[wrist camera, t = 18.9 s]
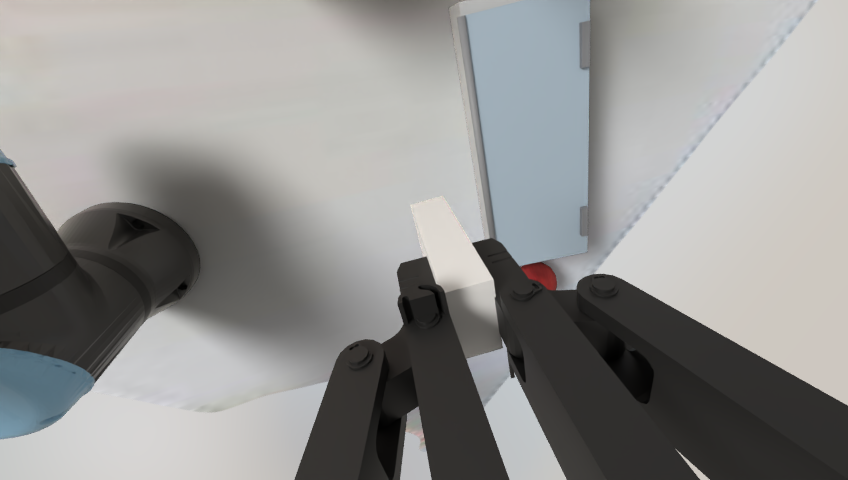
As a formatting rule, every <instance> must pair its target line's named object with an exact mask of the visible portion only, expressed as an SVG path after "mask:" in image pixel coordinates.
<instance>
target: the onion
mask: <svg viewBox="0 0 848 480" xmlns="http://www.w3.org/2000/svg"><path fill="white" fill-rule="evenodd" d="M521 269H522V270H523V272H524V273H525V274H526V275H527V277H528V278H529V279H532V280H535V281H538V282H540V283H541V284H543V285H544V286H545V287H546V288H547V289H548V290H556V287H557V281H556V275H555V273H554V272H553V270H552V269H551V268H550V267H549V266H547V265H546V264H544V263H542V262H536V263H532V264H527V265H523V266H522V267H521Z"/></svg>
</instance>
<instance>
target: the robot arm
mask: <svg viewBox="0 0 848 480" xmlns="http://www.w3.org/2000/svg"><path fill="white" fill-rule="evenodd" d="M15 167H17V166H16V164H15V163H14V162H13V161H12V160H11V159H8V158H7V157H6V156H5V155H4V153H3V152H2V151H1V149H0V439H6V438H14V437H19V436H24V435H28V434H31V433H34V432H37V431H40V430H42V429H44V428H46V427H48V426H50V425H52V424H54V423H55V422H56V421H58V420H59V419H60V418H62V417H63V416H64V415H65V414H66V413H67V411H69V409H70V408H71V407H72V406H73V405H74V404H75V403H76V402H77V401H78V400H79V399H80V398H81V397H82V396H83V395H85V394H86V393H88V392H89V391H90V390H91V389H92V387H93V386H94V383H95V382H96V381H97V380H98V379H99V377H100V376H101V375H102V374H103V372H104V371H105V370H106V369H107V367H108V366H109V365H110V364H111V362H112V361H113V360H114V359H115V357H116V356H117V355H118V354H119V353H120V351H121V350H122V349H123V348H124V346H125V345H126V344H127V343H128V341H129V340H130V339H131V338H132V336H133V335H134V334H135V333H136V332H137V330H138V329H139V328H140V326H141V325H142V324H143V323H144V322H145V321H146V320H147V319H148V318H150V317H152V316H154V315H155V314H157V313H159V312H161V311H163V310H164V309H166V308H168V307H170V306H171V305H173V304H175V303H177V302H178V301H179V300H180V299H182V298H183V297H184V296H185V295H186V294H187V292H188V291H189V290H190V289H191V287H192V286H193V285H194V283H195V282H196V280H197V278H198V275H199V270H200V260H199V255H198V252H197V250H196V247H195V245H194V244H193V242H192V240H191V239H190V237H189V236H188V235H187V234H186V233H185V232H184V230H182V229H181V228H180V227H179V226H178V225H177V224H176V223H174V222H173V221H172V220H170V219H169V218H167V217H166V216H164V215H162V214H160V213H158V212H156V211H154V210H151V209H149V208H146V207H143V206H139V205H135V204H129V203H119V202H112V203H103V204H98V205H95V206H92V207H89V208H87V209H85V210H83V211H82V212H80V213H78V214H76V215H74V216H73V217H71V218H70V219H69V220H67V221H66V222H65V223H64V224H63V225H62V226H61V227H60V228H59V230H58V231H56V230H55V228H54V227H53V225H52V224H51V222H50V221H49V219H48V218H47V216H46V215H45V213H44V212H43V210H42V209H41V207H40V206H39V204H38V203H37V201H36V200H35V198H34V197H33V195H32V194H31V192H30V191H29V189H28V188H27V186H26V185H25V184H24V182H23V181H22V179H21V178H20V176H19V175H18V173H17V172H16V170H15V169H14V168H15ZM410 206H411V210H412V214H413V218H414V222H415V226H416V230H417V234H418V238H419V242H420V246H421V250H422V254H423V258H419V259H415V260H411V261H408V262H404V263H401V264H400V267H399V269H398V271H397V276H398V281H399V287H400V292H401V295H400V296H399V298H398V307H399V310H400V313H401V316H402V319H403V323H404V324H403V327H402V328H401V330H400V331H399V332H398V333H397V334H396V335H395V336H394V337H392V338H391V339H389V340H387V341H386V342H384V343H382V344H380V343H379V342H376V341H374V340H366V339H365V340H361V341H357V342H355V343H353V344H351V345H349V346H347V347H346V348H345V349H344V350H343V351H342V352H341V353H340V355H339V356H338V358H337V360H336V362H335V365H334V368H333V371H332V374H331V377H330V380H329V382H328V385H327V388H326V391H325V394H324V397H323V400H322V403H321V406H320V408H319V411H318V414H317V417H316V420H315V423H314V426H313V428H312V431H311V434H310V437H309V440H308V443H307V446H306V448H305V451H304V454H303V457H302V460H301V463H300V466H299V468H298V472H297V474H296V477H295V480H400V474H401V464H402V456H403V447H404V439H405V430H406V421H407V413H409V412H410V411H412V410H413V409H415V408H416V407H418V406H419V410H420V416H421V422H422V427H423V433H424V438H425V444H426V450H427V455H428V460H429V466H430V472H431V477H432V480H509V477H508V475H507V472H506V469H505V466H504V464H503V461H502V458H501V455H500V452H499V450H498V447H497V444H496V441H495V438H494V436H493V433H492V430H491V427H490V424H489V422H488V419H487V416H486V413H485V411H484V408H483V405H482V402H481V399H480V397H479V394H478V391H477V388H476V385H475V383H474V380H473V377H472V374H471V372H470V369H469V366H468V363H467V360H466V358H470V357H473V356H477V355H480V354H484V353H487V352H491V351H494V350H498V349H501V348H503V346H502V339H503V341H504V343H505V345H506V347H507V353H508V361H509V369H510V375H511V378H514V377H515V376H514V372H515V375H516V376H517V379H518V381H519V383H520V385H521V387H522V389H523V391H524V393H525V395H526V397H527V399H528V401H529V403H530V405H531V407H532V409H533V411H534V413H535V415H536V417H537V419H538V422H539V424H540V426H541V428H542V430H543V432H544V434H545V436H546V438H547V440H548V442H549V444H550V446H551V448H552V450H553V452H554V454H555V456H556V458H557V460H558V462H559V464H560V466H561V468H562V471H563V472H564V475H565V477H566V479H567V480H700V479H699V478H698V477H697V476H696V474H695V473H694V472H693V470H692V469H691V468H690V467H689V465H688V464H687V463H686V462H685V460H684V459H683V458H682V457H681V455H680V454H679V453H678V452H677V450H678V451H679V452H680V453H681V454H682V455H683V456H684V457H685V458H687V459H688V460H689V461H690V462H691V463H692V464H693V465H695V467H697V468H698V469H699V470H700V471H701V472H702V473H703V474H704V475H706V476H707V477H708V478H709V479H710V480H848V406H847V405H845V404H844V403H842V402H840V401H838V400H836V399H835V398H833V397H831V396H829V395H828V394H826V393H824V392H822V391H820V390H819V389H817V388H815V387H813V386H812V385H810V384H808V383H806V382H804V381H803V380H801V379H799V378H797V377H796V376H794V375H792V374H790V373H788V372H786V371H785V370H783V369H781V368H779V367H778V366H776V365H774V364H772V363H771V362H769V361H767V360H765V359H763V358H761V357H760V356H758V355H756V354H754V353H752V352H751V351H749V350H747V349H745V348H743V347H742V346H740V345H738V344H737V343H735V342H733V341H731V340H730V339H728V338H725V337H724V336H722V335H721V334H719V333H717V332H715V331H713V330H712V329H710V328H708V327H706V326H704V325H702V324H701V323H699V322H697V321H696V320H694V319H692V318H690V317H688V316H687V315H685V314H683V313H681V312H679V311H678V310H676V309H674V308H672V307H671V306H669V305H667V304H665V303H663V302H662V301H660V300H658V299H656V298H655V297H653V296H651V295H649V294H647V293H646V292H644V291H642V290H640V289H639V288H637V287H635V286H633V285H631V284H629V283H628V282H626V281H624V280H622V279H620V278H618V277H615V276H613V275H606V274H593V275H589V276H586V277H584V278H583V279H581V280H580V281H579V282H578V285H577V290H561V291H559V290H548V289H547V288H546V287H545V286H544V285H543V284H541V283H540V282H538V281H535V280H532V279H529V278H528V277H527V275H526V274H525V273H524V272H523V270H522V269H521V268H520V266H519V265H518V264H517V262H516V261H515V260H514V258H512V256H511V255H510V253H509V252H508V251H507V249H506V248H505V247H504V245H503V244H502V243H501V242H499V241H497V240H495V239H493V238H489V239H486V240H482V241H478V242H474V243H471V241H470V240H469V238H468V236H467V235H466V233H465V231H464V230H463V228H462V226H461V225H460V223H459V221H458V220H457V218H456V216H455V215H454V213H453V211H452V210H451V208H450V207H449V205H448V203H447V202H446V200H445V198H444V197H443V196H441V197H437V198H433V199H430V200H426V201H422V202H418V203H414V204H411V205H410ZM501 337H502V339H501ZM676 449H677V450H676Z"/></svg>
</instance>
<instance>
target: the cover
mask: <svg viewBox="0 0 848 480" xmlns="http://www.w3.org/2000/svg"><path fill="white" fill-rule="evenodd" d="M457 23H458V30H459V37H460V43H461V50H462V57H463V64H464V70H465V77H466V84H467V90H468V97H469V104H470V111H471V117H472V124H473V131H474V137H475V144H476V151H477V158H478V164H479V171H480V178H481V184H482V191H483V198H484V205H485V211H486V218H487V225H488V232H489V238H493V239H495V240H497V241H499V242H501V243H502V244H503V245H504V247H505V248H506V249H507V251H508V252H509V253H510V255H511V256H512V258H514V260H515V261H516V262H517V264H518V265H519V266H522V265H527V264H532V263H536V262H541V261H546V260H551V259H556V258H561V257H566V256H571V255H576V254H580V253H585V252H587V236H588V146H589V66H590V30H591V20H590V0H522V1H518V2H515V3H511V4H507V5H503V6H499V7H495V8H491V9H488V10H484V11H480V12H476V13H472V14H468V15H464V16H460V17H457Z"/></svg>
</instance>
